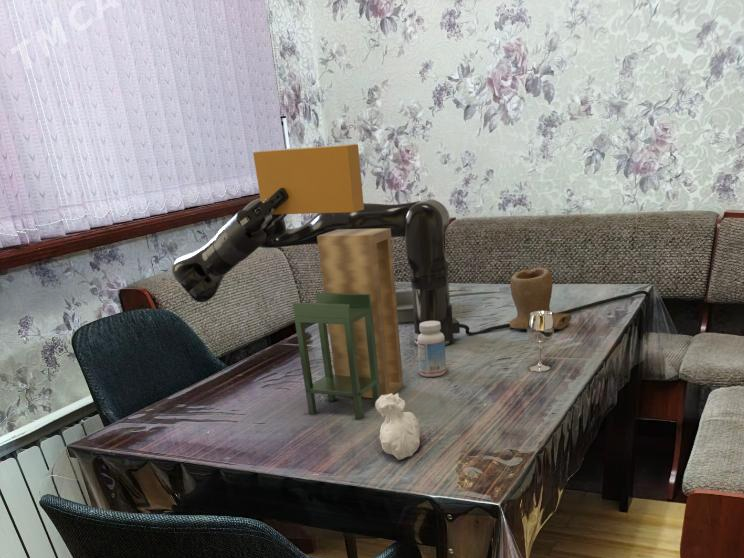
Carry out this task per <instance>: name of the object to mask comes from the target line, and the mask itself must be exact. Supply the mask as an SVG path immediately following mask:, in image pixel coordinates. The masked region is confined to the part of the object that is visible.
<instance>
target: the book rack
mask: <svg viewBox="0 0 744 558" xmlns="http://www.w3.org/2000/svg"><path fill="white" fill-rule="evenodd" d="M292 308H293V314H294V315H293V316H294V317H293V318H294V324H295V331H296V337H297V338H296V339H297V344H298V351H299V357H300V363H301V369H302V377H303V383H304V384H303V385H304V390H305V397H306V403H307V409H308V414H309V415H316V414H317V413H318V411H317V410H318V409H317V404H316V396H315V394H320V395H327V400H328V402H335V401H336V400H337V396H341V397H352V403H353V411H354V419H355V420H362V419H363V418H364V411H363V401H362V397H361V395H362V394H363V393H364V392H366V391H367V390H369V389H370V388H372V394H373V398H372V404H373V406H375V403H376V401H377V400H378V399H379V397H380V396H381V395H380V385H379V375H378V365H377V354H376V344H375V334H374V324H373V313H372V307H371V297H370V294H348V293H324V292H315V302H293V303H292ZM363 317H365V326H366V336H367V345H368V355H369V365H370V374H371V378H366V377H359V375H358V366H357V357H356V348H355V339H354V330H353V323H354V322H355V321H357V320H359V319H361V318H363ZM306 323H307V324H317V325H318V326H317V327H318V333H319V339H320V347H321V348H320V349H321V355H322V363H323V369H324V376H323V377H321V378H320V379H318V380H317V381H315V382H313V377H312V370H311V363H310V357H309V356H310V355H309V348H308V344H307V336H306V329H305V324H306ZM328 324H344V327H345V335H346V344H347V352H348V361H349V369H350V376H340V375H335V374H334V372H333V362H332V355H331V349H330V348H331V347H330V339H329V335H328V327H327V325H328Z"/></svg>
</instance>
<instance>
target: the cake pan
mask: <svg viewBox="0 0 744 558" xmlns="http://www.w3.org/2000/svg"><path fill="white" fill-rule="evenodd" d="M396 303H397V315H398V324H404V323H414V314H413V300H412V289H409V290H397V291H396Z"/></svg>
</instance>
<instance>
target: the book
mask: <svg viewBox="0 0 744 558" xmlns="http://www.w3.org/2000/svg"><path fill="white" fill-rule="evenodd" d="M252 156H253V161H254V167H255V173H256V180H257V187H258V192H259V193H258V194H259V198H260V200H261V201H262V203H263V202H264V200H265V199H266V198H269V199H270V197H271V196H272V195H273V194H274V193H275V192H277V191H278V190H279V189H280V188H284V189H285V190H286V192H287V194H288V196H289V198H288V199H287V200H286V201H285V202H284V203H283V204H282V205H280V206H279V207H278V208H275V209H276V210H275V212H273V213H272V214H287V215H302V214H304V215H306V214H317V213H349V212H357V211H360V210H364V204H363V203H364V193H363V185H362V183H363V181H362V173H361V161H360V151H359V144H358V143H357V144H356V143H353V144H338V145H337V144H336V145H324V146H311V147H310V146H309V147H296V148H281V149H266V150H260V151H259V150H258V151H254V152H252Z"/></svg>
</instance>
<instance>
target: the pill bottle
mask: <svg viewBox="0 0 744 558" xmlns="http://www.w3.org/2000/svg"><path fill="white" fill-rule="evenodd" d="M419 328H420V329H419V330H420V332H421V334H420V335H419V336H418V338H417V344H418V346H417V356H418V369H419V374H420V375H421V376H422V377H425V378H434V377H440V376H443V375H445V374H446V372H447V359H446V358H447V357H446V345H445V339H444V335H443V333H441V332H440V328H441V324H440V322H439V321H425V322H422V323H420V324H419Z"/></svg>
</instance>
